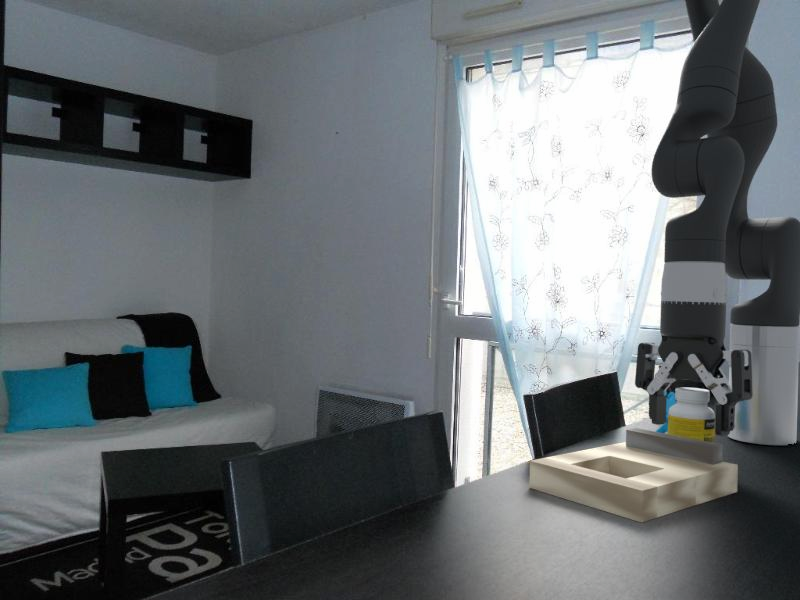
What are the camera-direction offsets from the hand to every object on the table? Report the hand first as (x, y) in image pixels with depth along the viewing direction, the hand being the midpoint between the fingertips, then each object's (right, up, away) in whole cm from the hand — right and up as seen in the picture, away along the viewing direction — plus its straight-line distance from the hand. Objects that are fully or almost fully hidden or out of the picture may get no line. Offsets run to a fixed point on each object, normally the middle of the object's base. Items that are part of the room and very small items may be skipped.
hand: (689, 429), depth 88 cm
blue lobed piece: (+5, -5, +16) cm, 17 cm away
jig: (-10, -5, -11) cm, 16 cm away
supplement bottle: (0, -5, 0) cm, 5 cm away
